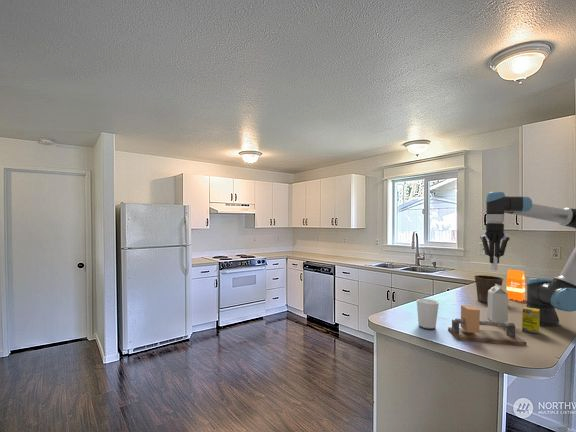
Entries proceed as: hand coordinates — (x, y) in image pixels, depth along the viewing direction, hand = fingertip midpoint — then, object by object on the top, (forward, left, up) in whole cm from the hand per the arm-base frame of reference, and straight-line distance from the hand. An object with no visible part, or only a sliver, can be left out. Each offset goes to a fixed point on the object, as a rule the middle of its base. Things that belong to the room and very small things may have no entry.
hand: (494, 269), depth 154 cm
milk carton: (-7, -10, -29) cm, 31 cm away
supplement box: (-15, +4, -29) cm, 32 cm away
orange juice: (-45, -65, -29) cm, 84 cm away
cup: (+34, +10, -29) cm, 45 cm away
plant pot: (-22, -53, -29) cm, 64 cm away
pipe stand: (+12, +18, -28) cm, 35 cm away
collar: (+18, +18, -25) cm, 36 cm away
